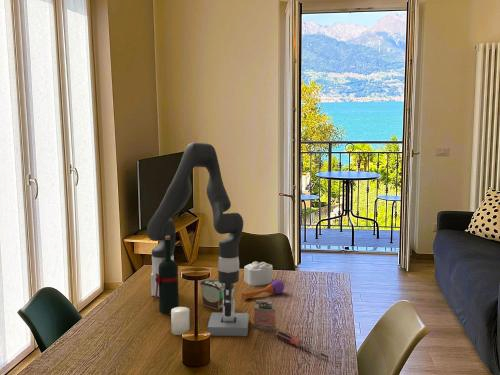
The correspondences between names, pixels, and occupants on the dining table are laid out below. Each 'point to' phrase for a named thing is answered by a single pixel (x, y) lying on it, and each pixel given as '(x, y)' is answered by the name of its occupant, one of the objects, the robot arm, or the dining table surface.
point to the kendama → (265, 290)
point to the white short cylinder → (180, 320)
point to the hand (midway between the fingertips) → (228, 311)
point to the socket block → (228, 325)
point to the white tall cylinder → (231, 318)
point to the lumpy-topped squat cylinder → (258, 273)
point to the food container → (212, 293)
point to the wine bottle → (167, 282)
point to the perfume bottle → (264, 315)
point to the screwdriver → (295, 341)
